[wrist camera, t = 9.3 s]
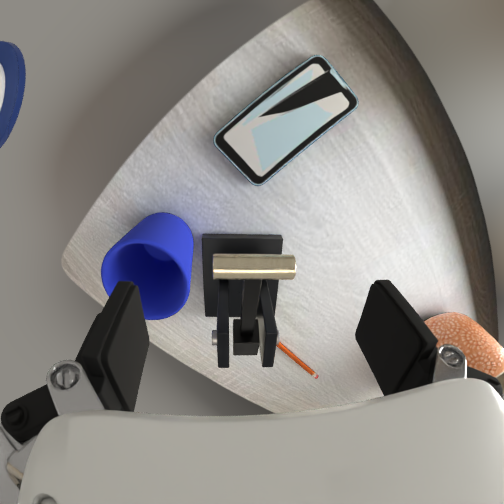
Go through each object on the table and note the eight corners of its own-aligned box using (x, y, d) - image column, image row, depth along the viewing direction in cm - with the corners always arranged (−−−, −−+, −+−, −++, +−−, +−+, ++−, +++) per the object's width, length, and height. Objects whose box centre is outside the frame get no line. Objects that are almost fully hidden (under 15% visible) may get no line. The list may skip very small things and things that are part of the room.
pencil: (314, 376, 45) (315, 379, 44) (249, 321, 38) (250, 324, 37) (318, 374, 45) (319, 377, 44) (254, 318, 38) (254, 321, 37)
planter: (464, 275, 38) (531, 342, 21) (462, 342, 47) (503, 400, 30) (368, 335, 41) (416, 431, 24) (385, 390, 50) (416, 460, 33)
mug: (107, 262, 32) (74, 309, 24) (158, 188, 29) (128, 219, 20) (157, 298, 35) (139, 353, 26) (215, 233, 32) (209, 280, 23)
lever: (213, 243, 18) (211, 273, 16) (292, 244, 18) (298, 274, 16) (218, 332, 26) (218, 355, 25) (269, 332, 27) (272, 354, 25)
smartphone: (208, 139, 26) (319, 51, 22) (209, 138, 27) (316, 52, 23) (257, 190, 29) (362, 104, 25) (256, 187, 30) (358, 104, 26)
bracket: (202, 233, 32) (188, 299, 20) (281, 234, 33) (308, 299, 21) (205, 311, 37) (199, 388, 25) (273, 311, 37) (289, 386, 26)
